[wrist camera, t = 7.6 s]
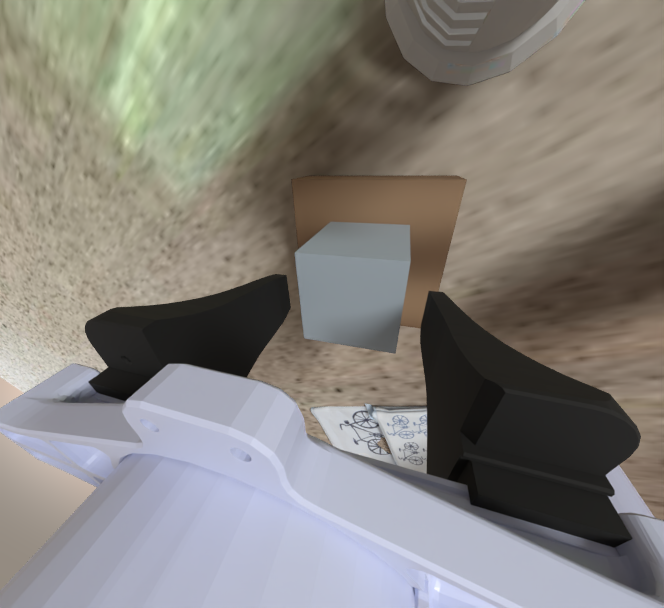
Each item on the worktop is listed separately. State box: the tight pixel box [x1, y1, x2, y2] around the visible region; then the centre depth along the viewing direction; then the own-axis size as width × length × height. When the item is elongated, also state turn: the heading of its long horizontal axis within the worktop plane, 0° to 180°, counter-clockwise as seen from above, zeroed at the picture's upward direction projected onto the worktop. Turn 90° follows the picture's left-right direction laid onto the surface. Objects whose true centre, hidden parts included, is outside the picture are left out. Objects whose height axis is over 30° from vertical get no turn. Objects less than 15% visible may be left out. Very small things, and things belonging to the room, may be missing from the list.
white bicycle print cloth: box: [311, 403, 427, 474], centre depth 32 cm, size 19×20×2 cm
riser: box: [291, 176, 467, 328], centre depth 17 cm, size 10×10×3 cm
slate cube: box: [295, 222, 411, 353], centre depth 14 cm, size 5×5×6 cm
